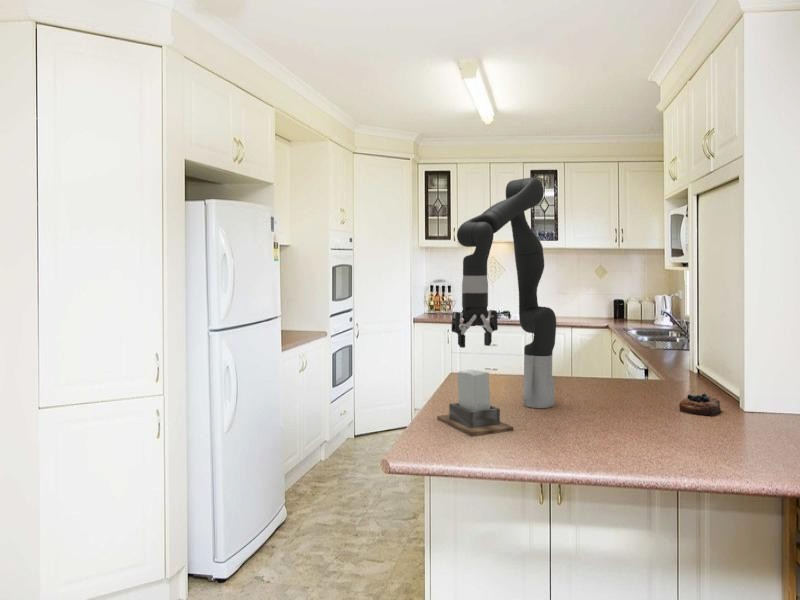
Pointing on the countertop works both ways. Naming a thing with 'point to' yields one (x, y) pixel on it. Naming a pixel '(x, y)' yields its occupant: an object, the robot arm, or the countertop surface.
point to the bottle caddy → (475, 420)
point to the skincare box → (474, 390)
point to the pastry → (700, 405)
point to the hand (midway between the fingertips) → (474, 346)
